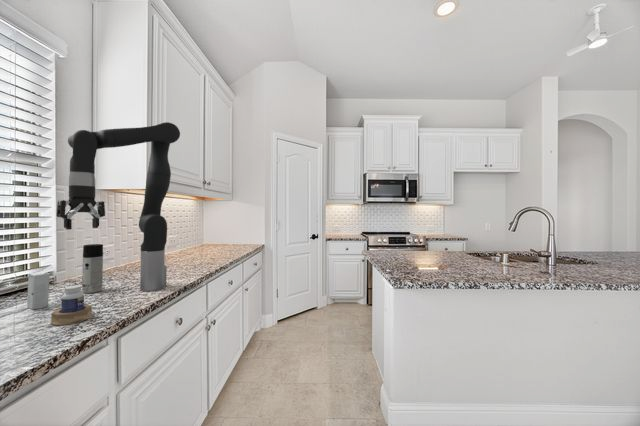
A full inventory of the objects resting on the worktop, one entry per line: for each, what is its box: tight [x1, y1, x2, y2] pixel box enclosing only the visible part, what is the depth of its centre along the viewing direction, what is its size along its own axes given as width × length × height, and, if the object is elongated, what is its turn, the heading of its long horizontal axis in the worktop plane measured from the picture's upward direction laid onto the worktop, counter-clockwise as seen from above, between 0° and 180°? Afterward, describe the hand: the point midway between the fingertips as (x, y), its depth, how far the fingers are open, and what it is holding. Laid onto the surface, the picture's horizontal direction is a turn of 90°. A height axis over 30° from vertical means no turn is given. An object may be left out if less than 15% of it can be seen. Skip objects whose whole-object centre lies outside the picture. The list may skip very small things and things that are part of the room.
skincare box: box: [26, 270, 51, 310], centre depth 99 cm, size 6×4×12 cm
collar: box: [50, 303, 93, 326], centre depth 89 cm, size 10×10×3 cm
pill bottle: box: [61, 284, 85, 313], centre depth 89 cm, size 5×5×10 cm
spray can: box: [81, 243, 104, 295], centre depth 118 cm, size 7×7×20 cm
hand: (82, 228), depth 103 cm, fingers open, 8 cm apart
